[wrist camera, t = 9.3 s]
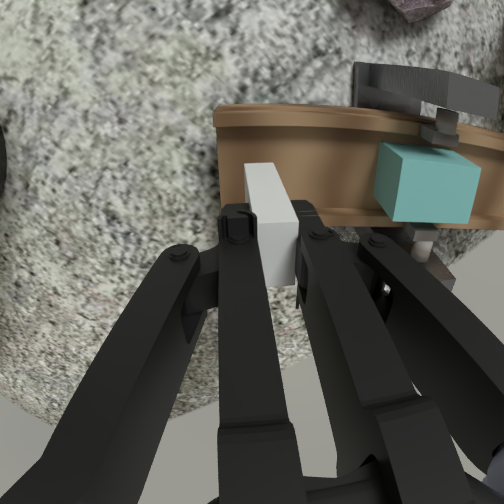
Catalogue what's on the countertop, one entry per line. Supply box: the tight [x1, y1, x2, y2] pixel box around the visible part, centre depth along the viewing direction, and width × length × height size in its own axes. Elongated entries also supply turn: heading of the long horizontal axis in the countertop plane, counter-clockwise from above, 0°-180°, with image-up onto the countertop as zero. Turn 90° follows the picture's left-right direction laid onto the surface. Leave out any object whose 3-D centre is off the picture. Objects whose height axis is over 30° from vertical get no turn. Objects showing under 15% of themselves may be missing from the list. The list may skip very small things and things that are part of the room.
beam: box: [213, 104, 504, 263], centre depth 20 cm, size 28×10×6 cm, turn 91°
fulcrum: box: [342, 62, 500, 292], centre depth 21 cm, size 6×15×12 cm, turn 1°
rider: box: [373, 141, 481, 224], centre depth 19 cm, size 6×4×4 cm, turn 91°
